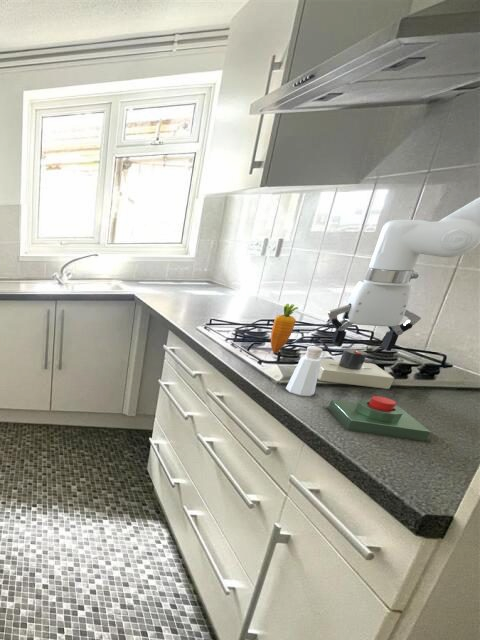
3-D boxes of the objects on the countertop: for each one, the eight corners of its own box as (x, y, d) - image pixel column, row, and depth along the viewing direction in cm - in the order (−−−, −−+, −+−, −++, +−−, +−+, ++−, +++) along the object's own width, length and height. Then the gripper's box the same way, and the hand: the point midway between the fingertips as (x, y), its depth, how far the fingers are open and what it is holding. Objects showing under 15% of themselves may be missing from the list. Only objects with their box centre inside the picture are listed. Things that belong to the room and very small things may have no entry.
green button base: (397, 418, 87) (405, 400, 85) (425, 441, 78) (435, 423, 77) (327, 408, 91) (334, 391, 89) (347, 429, 82) (354, 411, 80)
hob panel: (369, 374, 109) (374, 363, 107) (389, 389, 100) (394, 377, 99) (305, 367, 113) (309, 356, 112) (319, 380, 105) (323, 369, 103)
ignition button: (387, 405, 84) (390, 397, 83) (396, 413, 81) (400, 405, 80) (364, 402, 85) (368, 395, 84) (373, 410, 82) (376, 402, 81)
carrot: (266, 349, 127) (282, 300, 121) (286, 353, 123) (303, 303, 117) (262, 353, 123) (278, 303, 117) (282, 357, 120) (299, 306, 114)
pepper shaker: (299, 386, 101) (314, 343, 97) (319, 395, 96) (337, 351, 92) (279, 387, 100) (294, 344, 96) (299, 397, 96) (316, 352, 91)
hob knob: (335, 362, 108) (341, 346, 106) (356, 364, 107) (363, 348, 105) (342, 368, 104) (349, 352, 103) (364, 370, 103) (371, 354, 101)
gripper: (426, 276, 97) (397, 346, 103) (334, 273, 102) (313, 339, 109) (446, 281, 90) (414, 355, 97) (348, 277, 96) (324, 348, 103)
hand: (360, 347), depth 103 cm, fingers open, 9 cm apart
